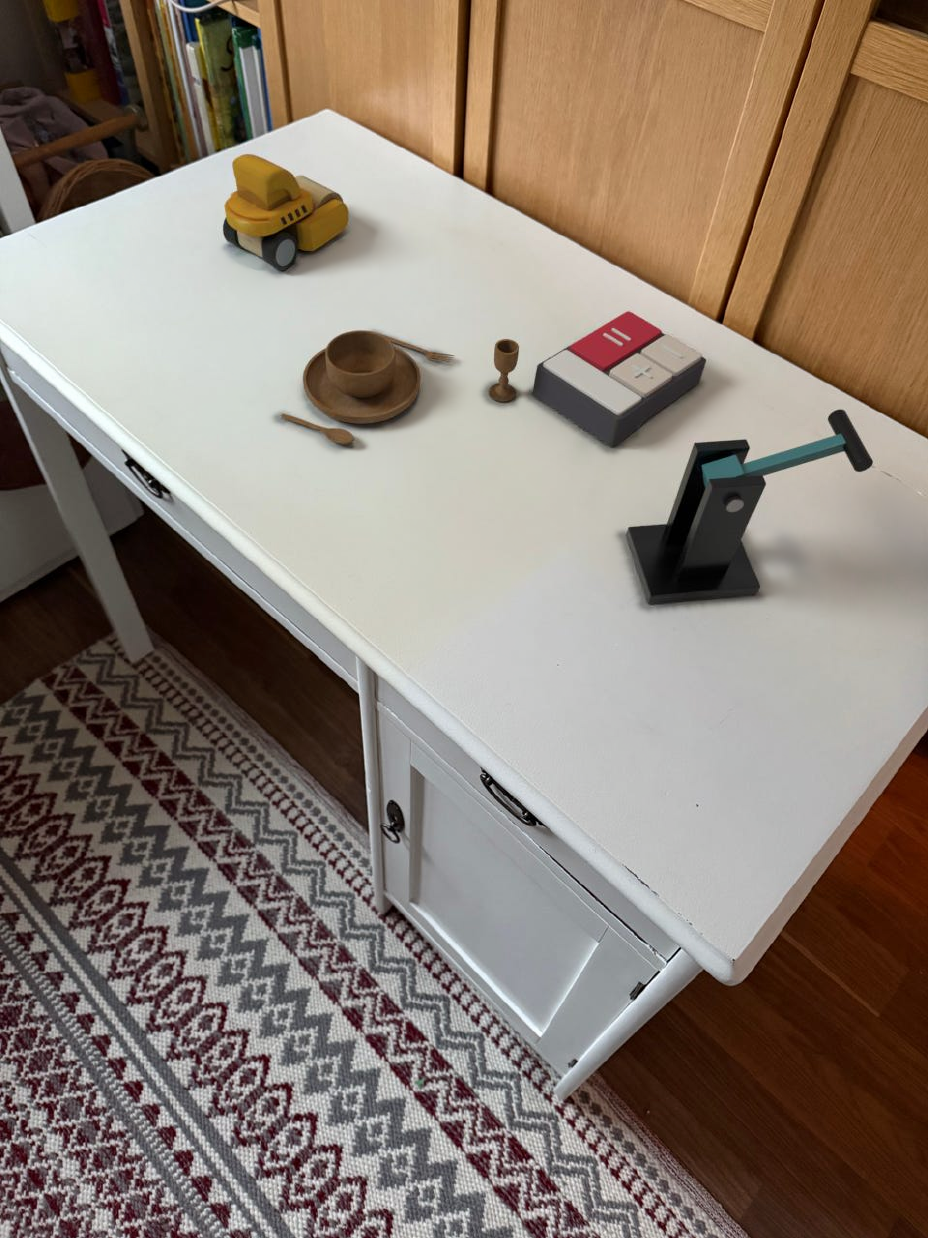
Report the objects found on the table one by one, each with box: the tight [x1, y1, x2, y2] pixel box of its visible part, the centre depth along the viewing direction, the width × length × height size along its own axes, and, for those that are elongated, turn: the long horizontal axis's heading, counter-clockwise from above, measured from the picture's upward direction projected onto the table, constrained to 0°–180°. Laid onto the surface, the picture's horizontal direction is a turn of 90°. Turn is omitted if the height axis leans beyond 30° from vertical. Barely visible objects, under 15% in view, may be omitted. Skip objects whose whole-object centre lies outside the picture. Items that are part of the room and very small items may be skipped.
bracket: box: [625, 438, 767, 605], centre depth 77 cm, size 10×8×13 cm
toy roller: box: [222, 153, 350, 271], centre depth 104 cm, size 9×14×10 cm, turn 142°
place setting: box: [280, 329, 520, 445], centre depth 90 cm, size 18×20×6 cm
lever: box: [702, 409, 874, 488], centre depth 72 cm, size 12×6×2 cm, turn 97°
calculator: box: [532, 310, 707, 447], centre depth 94 cm, size 11×4×15 cm
